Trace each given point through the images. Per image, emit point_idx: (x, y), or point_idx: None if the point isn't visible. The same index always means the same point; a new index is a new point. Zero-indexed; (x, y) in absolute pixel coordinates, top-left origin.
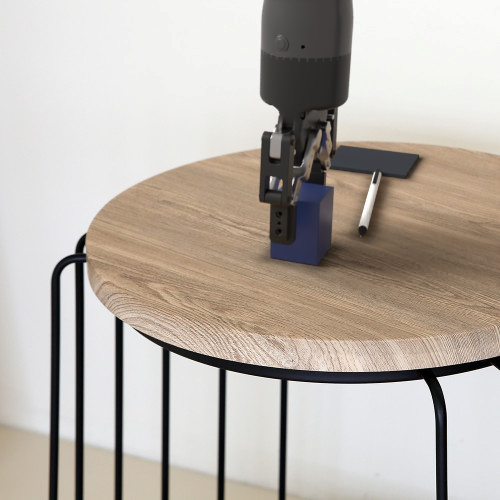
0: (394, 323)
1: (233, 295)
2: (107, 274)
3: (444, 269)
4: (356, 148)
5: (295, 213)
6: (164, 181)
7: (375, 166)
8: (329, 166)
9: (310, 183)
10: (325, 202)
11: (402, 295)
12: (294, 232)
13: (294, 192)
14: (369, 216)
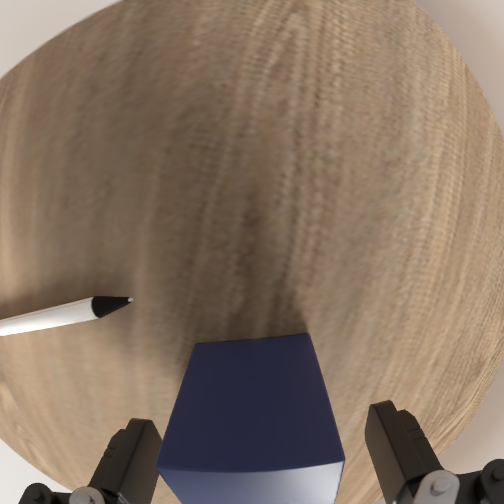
0: (457, 105)
1: (447, 380)
2: None
3: (175, 60)
4: None
5: (411, 457)
6: None
7: None
8: (88, 496)
9: (181, 502)
10: (264, 452)
11: (359, 104)
12: (395, 418)
13: (454, 502)
14: (47, 311)
